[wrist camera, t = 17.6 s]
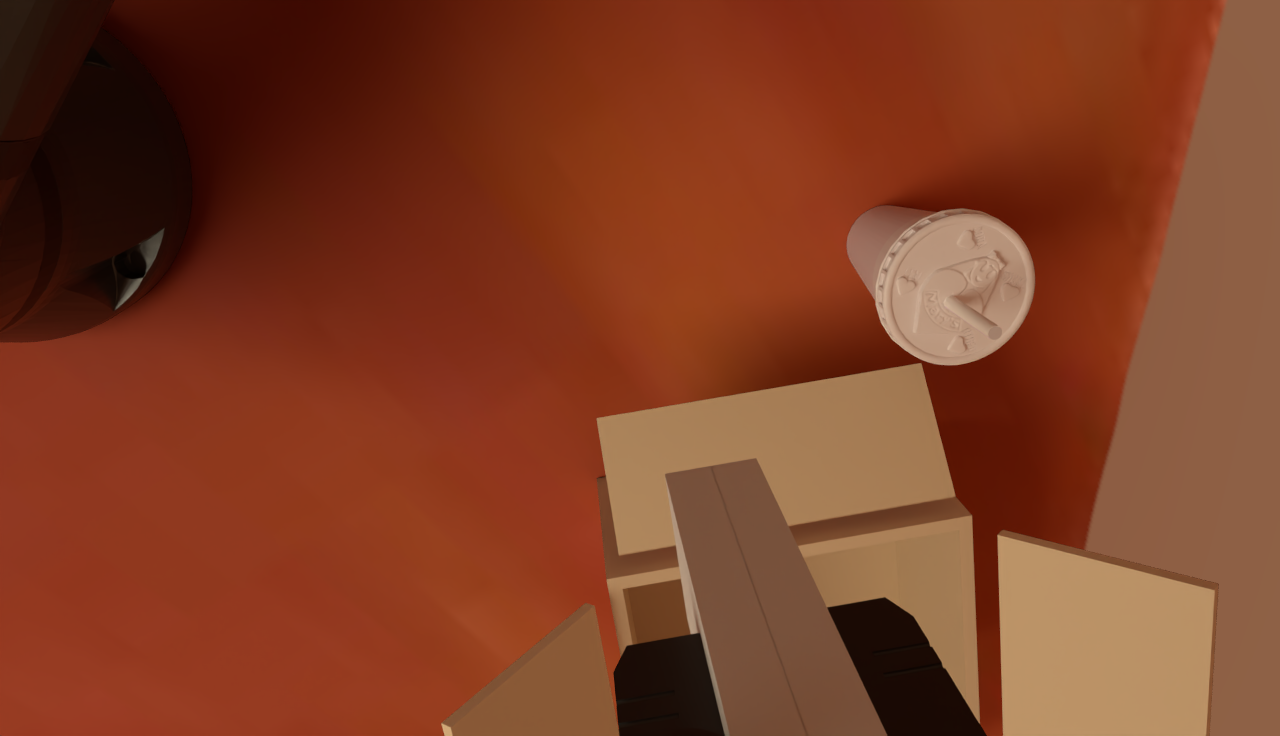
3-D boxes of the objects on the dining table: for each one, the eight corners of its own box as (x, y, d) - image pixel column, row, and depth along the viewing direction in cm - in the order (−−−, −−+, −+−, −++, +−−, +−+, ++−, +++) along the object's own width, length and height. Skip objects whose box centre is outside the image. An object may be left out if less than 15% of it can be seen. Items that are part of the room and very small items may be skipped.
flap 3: (1198, 860, 40) (1202, 852, 40) (1214, 590, 36) (1218, 583, 36) (1004, 777, 46) (1008, 770, 46) (997, 534, 41) (1002, 529, 42)
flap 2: (596, 418, 43) (597, 420, 43) (618, 554, 41) (619, 555, 42) (921, 363, 43) (918, 366, 44) (955, 495, 42) (952, 497, 42)
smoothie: (793, 241, 48) (884, 322, 35) (893, 149, 47) (1027, 196, 34) (873, 330, 50) (989, 439, 37) (972, 243, 49) (1127, 322, 35)
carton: (636, 697, 56) (653, 833, 46) (596, 478, 51) (606, 579, 42) (910, 649, 56) (981, 773, 47) (895, 426, 52) (972, 515, 42)
